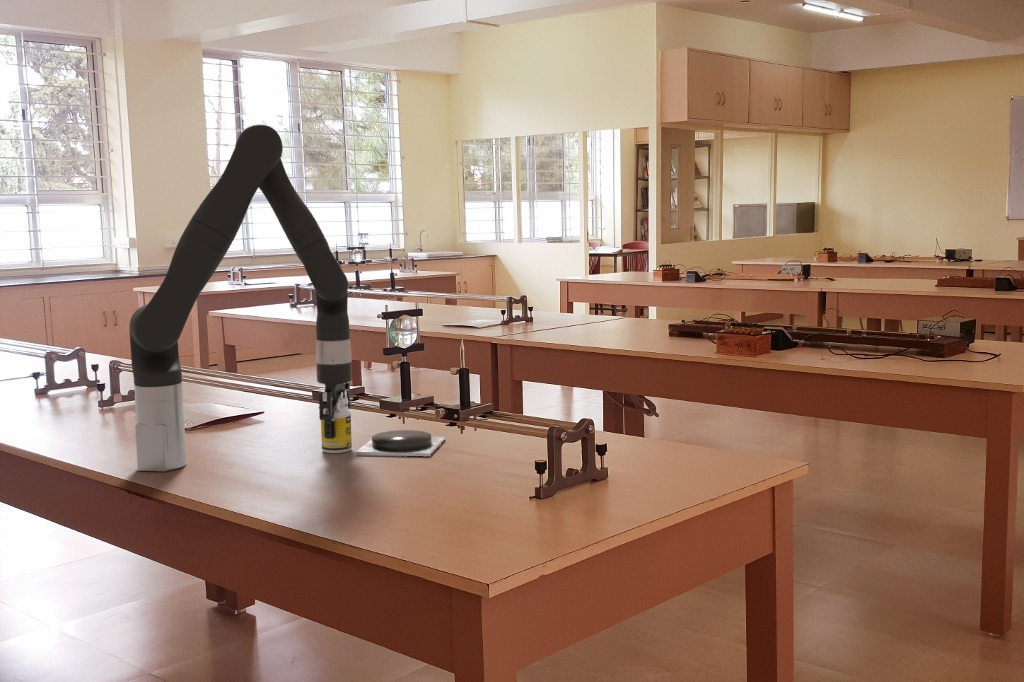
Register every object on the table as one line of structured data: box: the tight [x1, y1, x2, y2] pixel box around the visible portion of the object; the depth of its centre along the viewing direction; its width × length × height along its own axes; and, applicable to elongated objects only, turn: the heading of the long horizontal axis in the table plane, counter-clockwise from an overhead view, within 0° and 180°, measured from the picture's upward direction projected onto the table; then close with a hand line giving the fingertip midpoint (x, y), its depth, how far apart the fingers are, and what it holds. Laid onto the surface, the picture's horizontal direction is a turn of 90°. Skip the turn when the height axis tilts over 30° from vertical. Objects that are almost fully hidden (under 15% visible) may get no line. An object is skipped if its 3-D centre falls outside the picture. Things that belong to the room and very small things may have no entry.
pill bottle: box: [320, 397, 353, 454], centre depth 216 cm, size 6×6×12 cm
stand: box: [355, 429, 446, 458], centre depth 219 cm, size 16×16×2 cm
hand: (336, 434), depth 216 cm, fingers open, 8 cm apart
